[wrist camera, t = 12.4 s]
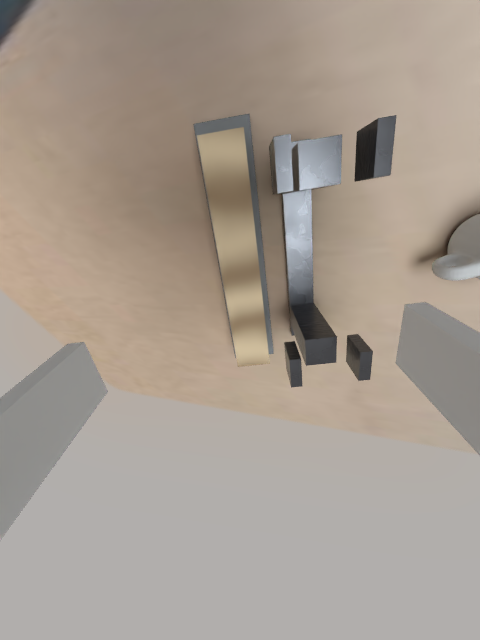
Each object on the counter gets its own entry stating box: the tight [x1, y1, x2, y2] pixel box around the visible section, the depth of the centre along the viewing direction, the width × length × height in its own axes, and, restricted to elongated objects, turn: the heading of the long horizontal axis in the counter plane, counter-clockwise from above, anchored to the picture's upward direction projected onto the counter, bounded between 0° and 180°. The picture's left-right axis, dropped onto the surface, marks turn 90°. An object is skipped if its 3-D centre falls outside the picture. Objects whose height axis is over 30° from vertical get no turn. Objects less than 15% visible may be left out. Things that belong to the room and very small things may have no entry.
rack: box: [269, 115, 396, 387], centre depth 24 cm, size 22×7×13 cm, turn 8°
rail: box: [197, 127, 270, 367], centre depth 28 cm, size 24×4×5 cm, turn 8°
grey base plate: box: [194, 114, 274, 357], centre depth 31 cm, size 28×6×1 cm, turn 8°
